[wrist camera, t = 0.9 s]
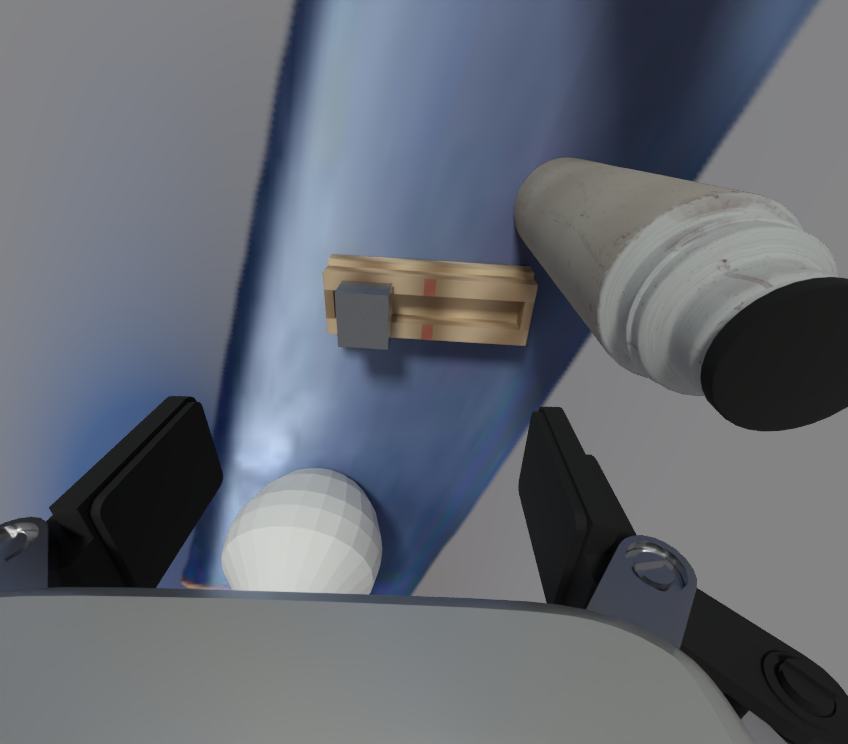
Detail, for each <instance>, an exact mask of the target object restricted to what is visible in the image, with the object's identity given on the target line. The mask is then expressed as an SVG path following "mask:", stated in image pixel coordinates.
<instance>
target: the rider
mask: <svg viewBox="0 0 848 744" xmlns="http://www.w3.org/2000/svg"><path fill="white" fill-rule="evenodd" d="M335 307H336V321H337V335H338V347H352V348H368V349H384V350H388V349H389V344H390V340H391V336H392V283H376V282H360V281H344V280H342V282H341V283H340V285H339V286H338V288H337V289H336V291H335Z"/></svg>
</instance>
